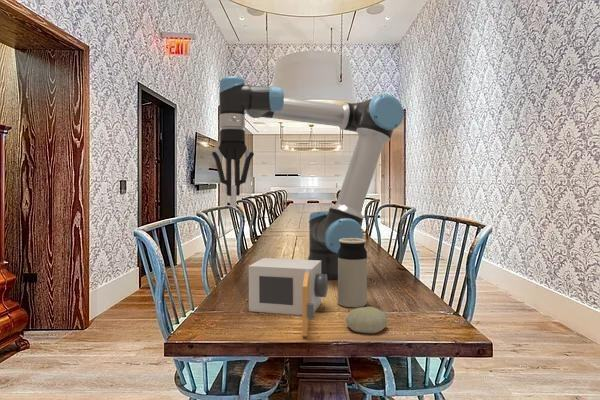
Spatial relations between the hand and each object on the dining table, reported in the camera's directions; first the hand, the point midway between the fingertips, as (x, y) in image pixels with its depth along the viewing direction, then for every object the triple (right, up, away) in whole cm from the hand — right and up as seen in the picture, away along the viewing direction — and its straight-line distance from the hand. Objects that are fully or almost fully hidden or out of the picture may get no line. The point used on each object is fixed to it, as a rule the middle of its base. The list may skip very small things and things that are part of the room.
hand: (233, 206), depth 134 cm
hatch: (+23, -27, -32) cm, 48 cm away
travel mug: (+35, -27, -13) cm, 46 cm away
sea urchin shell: (+36, -28, -32) cm, 56 cm away
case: (+18, -27, -16) cm, 36 cm away
